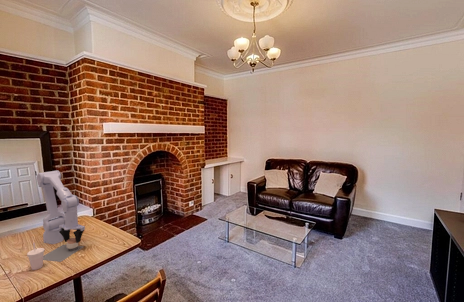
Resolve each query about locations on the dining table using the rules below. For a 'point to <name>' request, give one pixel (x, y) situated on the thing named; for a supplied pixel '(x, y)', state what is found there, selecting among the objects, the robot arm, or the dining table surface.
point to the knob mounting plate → (61, 253)
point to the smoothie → (36, 257)
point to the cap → (71, 243)
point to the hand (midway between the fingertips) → (72, 241)
